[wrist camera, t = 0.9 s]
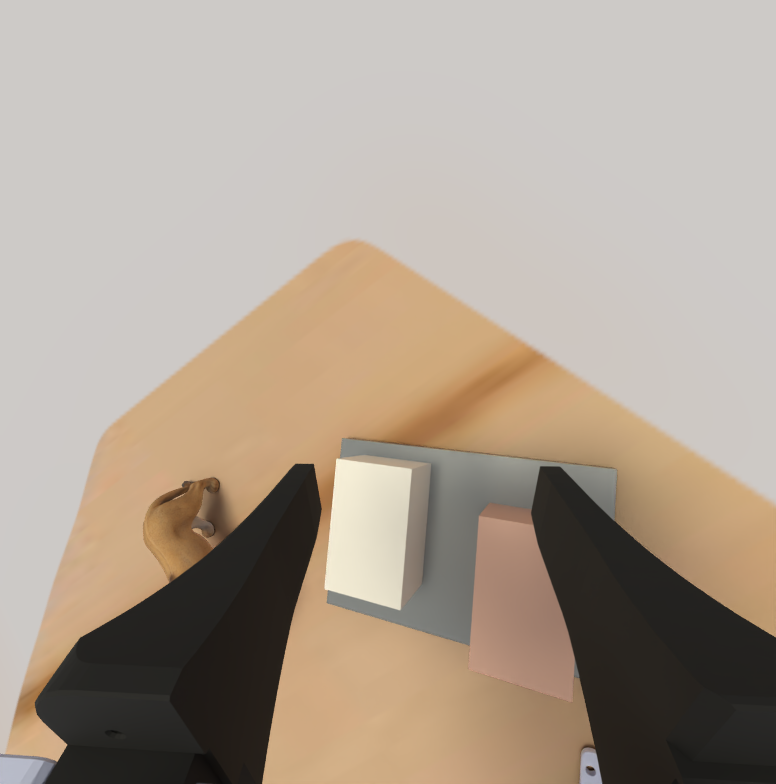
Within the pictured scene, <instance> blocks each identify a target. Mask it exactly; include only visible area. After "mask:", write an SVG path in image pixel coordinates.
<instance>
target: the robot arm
mask: <svg viewBox="0 0 776 784" xmlns="http://www.w3.org/2000/svg"><path fill="white" fill-rule="evenodd" d="M321 510H322V508H321V503H320V497H319V491H318V485H317V480H316V474H315V468H314V464H295V465H294V466H293V467H292V468H291V469H290V470H289V471H288V473H287V474H286V475H285V476H284V477H283V478H282V480H281V481H280V482H279V483H278V484H277V485H276V487H275V488H274V489H273V490H272V491H271V492H270V493H269V495H268V496H267V497H266V498H265V499H264V500H263V501H262V502H261V503H260V504H259V505H258V506H257V508H256V509H255V510H254V511H253V512H252V513H251V514H250V515H249V516H248V517H247V518H246V519H245V520H244V521H243V522H242V523H241V524H240V525H239V526H238V527H237V528H236V529H235V530H234V531H233V532H232V533H231V534H230V535H229V536H227V537H226V538H225V539H224V540H223V541H222V542H221V543H220V544H219V545H218V546H216V547H215V548H214V549H213V550H212V551H211V552H209V553H208V554H207V555H206V556H205V557H203V558H202V559H201V560H200V561H198V562H197V563H196V564H194V565H193V566H192V567H190V568H189V569H188V570H186V571H185V572H184V573H182V574H181V575H180V576H178V577H177V578H176V579H174V580H173V581H172V582H170V583H169V584H168V585H166V586H165V587H163V588H162V589H160V590H159V591H157V592H156V593H154V594H153V595H151V596H150V597H148V598H147V599H145V600H144V601H142V602H140V603H139V604H137V605H136V606H134V607H133V608H131V609H129V610H128V611H126V612H124V613H123V614H121V615H119V616H118V617H116V618H114V619H112V620H111V621H109V622H107V623H105V624H104V625H102V626H100V627H99V628H97V629H95V630H93V631H92V632H90V633H88V634H86V635H84V636H83V637H81V638H80V639H79V640H78V642H77V643H76V644H75V645H74V647H73V648H72V649H71V651H70V652H69V654H68V655H67V656H66V658H65V659H64V661H63V662H62V663H61V665H60V666H59V668H58V669H57V671H56V672H55V673H54V675H53V676H52V678H51V679H50V681H49V682H48V683H47V685H46V686H45V688H44V689H43V691H42V692H41V693H40V695H39V696H38V698H37V700H36V702H35V708H36V712H37V715H38V716H39V718H40V719H41V720H42V721H43V722H44V723H45V724H46V725H47V726H48V727H49V728H50V729H51V730H52V731H53V732H55V733H56V734H57V735H58V736H59V737H60V738H61V739H62V740H63V741H64V742H65V743H66V744H67V747H66V749H65V750H64V752H63V754H62V755H61V757H60V759H59V760H58V762H56V761H54V760H51V759H48V758H44V757H36V756H22V755H8V754H0V784H262V780H263V773H264V767H265V761H266V755H267V748H268V742H269V736H270V730H271V724H272V718H273V713H274V707H275V701H276V696H277V690H278V685H279V680H280V675H281V670H282V664H283V659H284V654H285V649H286V645H287V640H288V635H289V630H290V626H291V621H292V617H293V613H294V610H295V606H296V603H297V599H298V596H299V593H300V590H301V587H302V583H303V580H304V577H305V574H306V571H307V567H308V564H309V561H310V558H311V554H312V551H313V548H314V545H315V541H316V538H317V532H318V527H319V522H320V516H321ZM531 516H532V521H533V525H534V530H535V534H536V539H537V543H538V546H539V549H540V552H541V555H542V558H543V561H544V564H545V566H546V569H547V572H548V575H549V578H550V580H551V583H552V586H553V589H554V592H555V594H556V597H557V600H558V603H559V606H560V608H561V611H562V614H563V617H564V620H565V623H566V627H567V630H568V633H569V637H570V641H571V645H572V649H573V653H574V657H575V661H576V665H577V669H578V673H579V678H580V682H581V686H582V690H583V695H584V699H585V703H586V708H587V712H588V717H589V721H590V726H591V731H592V735H593V740H594V745H595V749H596V750H595V749H593V748H588V747H587V748H584V749H583V750H582V752H581V762H580V781H579V784H776V637H774V636H772V635H770V634H769V633H767V632H765V631H764V630H762V629H761V628H759V627H757V626H756V625H754V624H752V623H751V622H749V621H747V620H746V619H744V618H742V617H741V616H739V615H738V614H736V613H734V612H733V611H731V610H730V609H728V608H727V607H725V606H724V605H722V604H720V603H719V602H717V601H716V600H715V599H713V598H712V597H710V596H709V595H707V594H706V593H704V592H703V591H701V590H700V589H698V588H697V587H696V586H694V585H693V584H691V583H690V582H688V581H687V580H686V579H684V578H683V577H681V576H680V575H679V574H677V573H676V572H675V571H673V570H672V569H671V568H670V567H668V566H667V565H666V564H664V563H663V562H662V561H661V560H659V559H658V558H657V557H655V556H654V555H653V554H652V553H650V552H649V551H648V550H647V549H646V548H644V547H643V546H642V545H641V544H640V543H638V542H637V541H636V540H635V539H634V538H633V537H632V536H630V535H629V534H628V533H627V532H626V531H625V530H624V529H622V528H621V527H620V526H619V525H618V524H617V523H616V522H615V521H614V520H613V519H612V518H611V517H610V516H609V515H608V514H607V513H606V512H604V511H603V510H602V509H601V508H600V507H599V506H598V505H597V504H596V503H595V502H594V501H593V500H592V499H591V498H590V497H589V496H588V495H587V494H586V493H585V491H584V490H583V489H582V488H581V487H580V486H579V485H578V484H577V483H576V482H575V481H574V480H573V479H572V478H571V477H570V476H569V475H568V474H567V473H566V472H565V471H564V470H563V469H562V468H561V467H560V466H540V469H539V474H538V479H537V485H536V490H535V495H534V500H533V505H532V510H531ZM587 766H592V767H593V768H594V769H595V770H593V771H590V770H588V769H587V768H586V767H587Z"/></svg>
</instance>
